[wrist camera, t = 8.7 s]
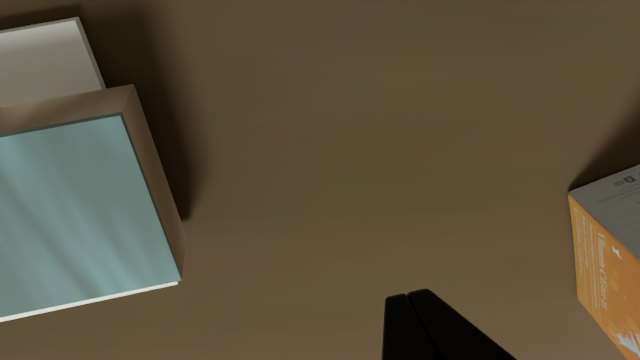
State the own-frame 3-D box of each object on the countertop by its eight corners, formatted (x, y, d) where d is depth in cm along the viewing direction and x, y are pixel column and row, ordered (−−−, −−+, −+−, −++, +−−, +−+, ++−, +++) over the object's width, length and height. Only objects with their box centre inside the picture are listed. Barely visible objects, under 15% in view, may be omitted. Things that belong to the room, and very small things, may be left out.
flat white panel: (78, 16, 17) (75, 20, 17) (178, 276, 24) (178, 284, 23) (-229, 71, 17) (-241, 76, 16) (-42, 323, 23) (-47, 331, 23)
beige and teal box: (120, 115, 16) (-147, 164, 15) (181, 280, 20) (-32, 324, 19) (133, 83, 18) (-97, 125, 18) (186, 236, 22) (-4, 274, 22)
